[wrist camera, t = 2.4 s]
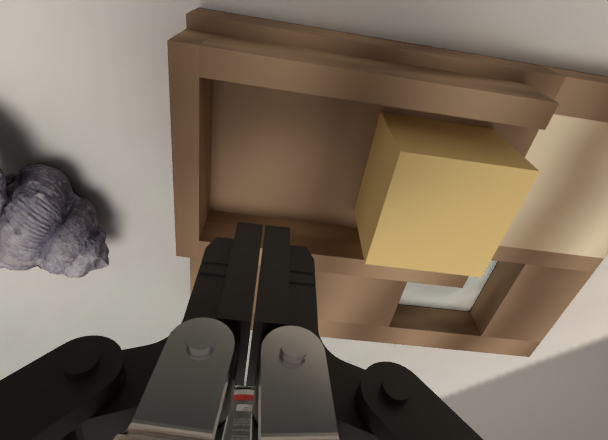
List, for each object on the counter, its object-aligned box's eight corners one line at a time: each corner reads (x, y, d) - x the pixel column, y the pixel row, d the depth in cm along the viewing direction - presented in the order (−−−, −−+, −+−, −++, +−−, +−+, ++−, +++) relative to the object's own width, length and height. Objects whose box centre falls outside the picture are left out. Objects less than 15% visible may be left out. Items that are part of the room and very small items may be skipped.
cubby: (525, 83, 16) (559, 103, 14) (446, 254, 21) (462, 287, 19) (186, 28, 15) (167, 40, 12) (189, 224, 20) (176, 255, 17)
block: (493, 128, 17) (539, 171, 13) (451, 223, 20) (481, 277, 16) (380, 112, 16) (400, 151, 13) (353, 210, 19) (365, 264, 16)
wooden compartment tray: (683, 89, 18) (722, 102, 16) (515, 332, 27) (529, 356, 26) (198, 7, 16) (186, 13, 14) (198, 300, 25) (191, 323, 24)
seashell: (-45, 114, 20) (130, 226, 24) (-139, 197, 18) (72, 304, 22) (-65, 71, 15) (152, 217, 20) (-191, 174, 13) (84, 313, 18)
